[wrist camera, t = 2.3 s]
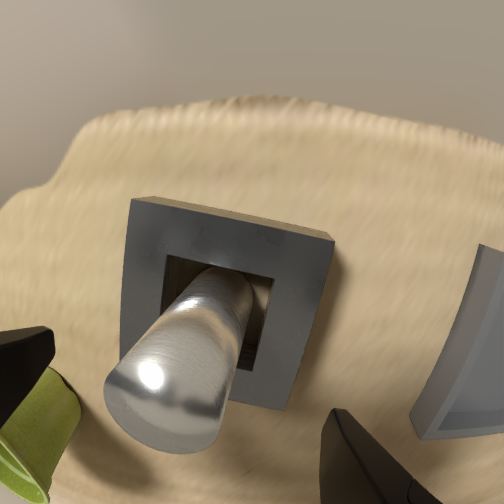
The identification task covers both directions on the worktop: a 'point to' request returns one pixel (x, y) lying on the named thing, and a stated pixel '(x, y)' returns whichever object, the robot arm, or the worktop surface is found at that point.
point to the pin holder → (233, 257)
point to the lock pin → (183, 366)
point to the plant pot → (37, 438)
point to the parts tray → (469, 362)
